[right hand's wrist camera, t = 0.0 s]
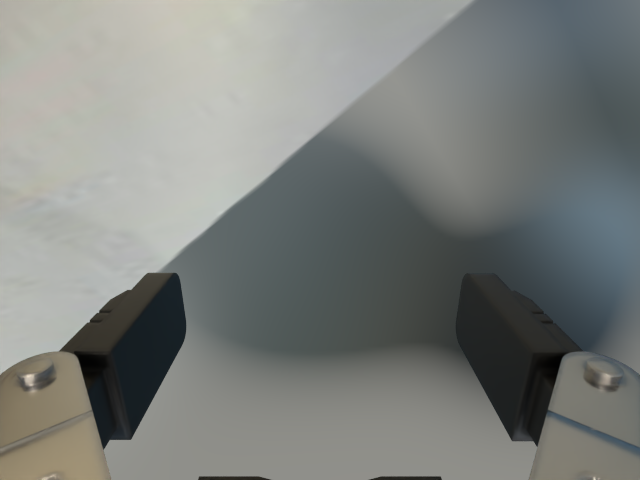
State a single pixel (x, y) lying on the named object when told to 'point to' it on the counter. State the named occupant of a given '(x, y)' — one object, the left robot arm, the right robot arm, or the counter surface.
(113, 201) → the counter surface
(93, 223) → the counter surface
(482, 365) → the right robot arm
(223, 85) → the counter surface
